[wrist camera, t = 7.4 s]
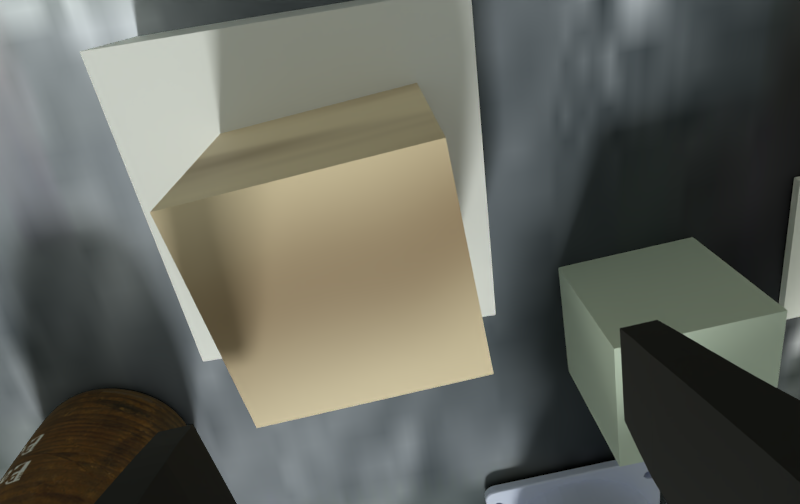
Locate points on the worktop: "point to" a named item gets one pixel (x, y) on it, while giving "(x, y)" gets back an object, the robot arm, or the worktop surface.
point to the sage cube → (672, 305)
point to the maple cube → (330, 257)
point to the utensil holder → (85, 447)
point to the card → (792, 258)
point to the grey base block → (291, 97)
